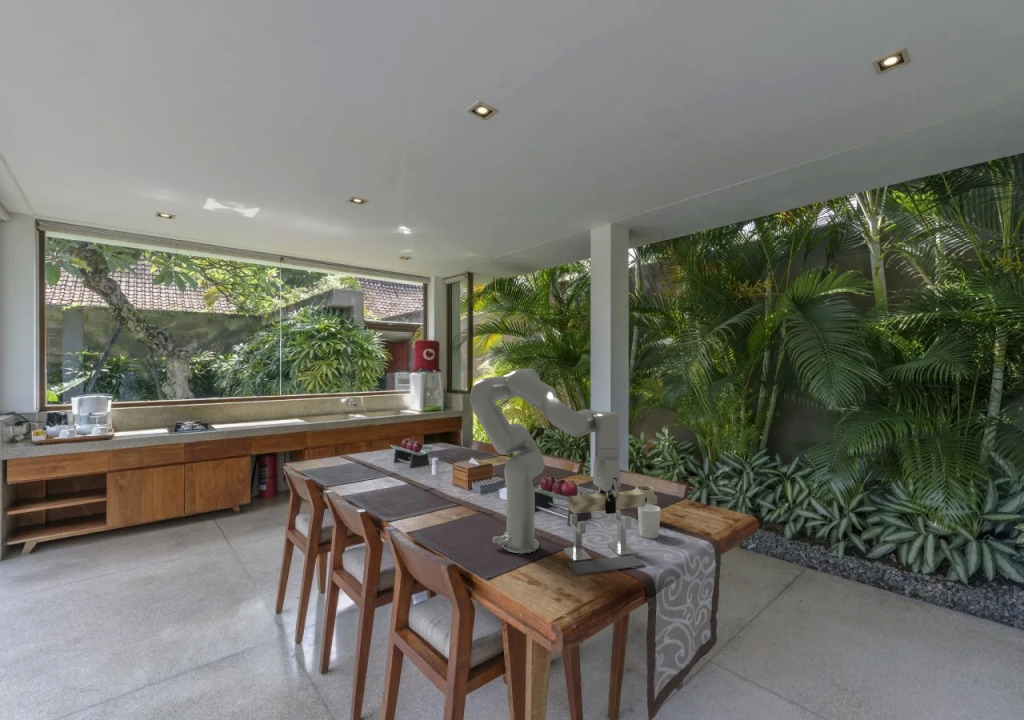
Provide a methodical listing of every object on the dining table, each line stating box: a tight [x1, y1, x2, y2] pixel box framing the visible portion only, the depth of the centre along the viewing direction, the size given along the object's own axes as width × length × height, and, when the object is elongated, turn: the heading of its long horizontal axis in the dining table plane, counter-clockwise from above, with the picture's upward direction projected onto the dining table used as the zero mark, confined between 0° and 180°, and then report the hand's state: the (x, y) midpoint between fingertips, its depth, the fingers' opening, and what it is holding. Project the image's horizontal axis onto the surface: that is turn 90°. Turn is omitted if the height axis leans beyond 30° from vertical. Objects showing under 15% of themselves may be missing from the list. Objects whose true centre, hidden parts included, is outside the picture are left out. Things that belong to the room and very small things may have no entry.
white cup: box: [637, 504, 661, 539], centre depth 170 cm, size 8×8×10 cm
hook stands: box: [563, 509, 638, 563], centre depth 154 cm, size 22×9×12 cm, turn 105°
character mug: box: [633, 484, 658, 521], centre depth 184 cm, size 11×7×13 cm, turn 39°
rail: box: [568, 489, 645, 514], centre depth 145 cm, size 24×4×4 cm, turn 105°
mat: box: [567, 555, 646, 576], centre depth 146 cm, size 23×7×1 cm, turn 105°
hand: (607, 510), depth 145 cm, fingers closed on rail, 4 cm apart
